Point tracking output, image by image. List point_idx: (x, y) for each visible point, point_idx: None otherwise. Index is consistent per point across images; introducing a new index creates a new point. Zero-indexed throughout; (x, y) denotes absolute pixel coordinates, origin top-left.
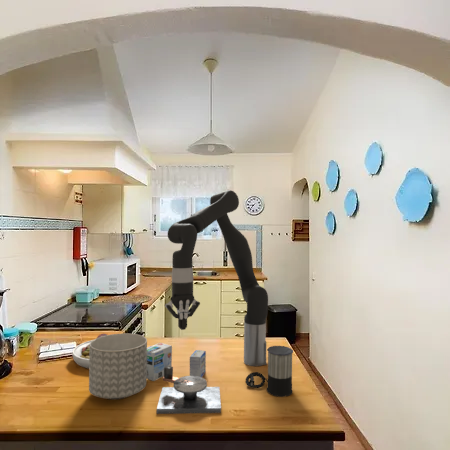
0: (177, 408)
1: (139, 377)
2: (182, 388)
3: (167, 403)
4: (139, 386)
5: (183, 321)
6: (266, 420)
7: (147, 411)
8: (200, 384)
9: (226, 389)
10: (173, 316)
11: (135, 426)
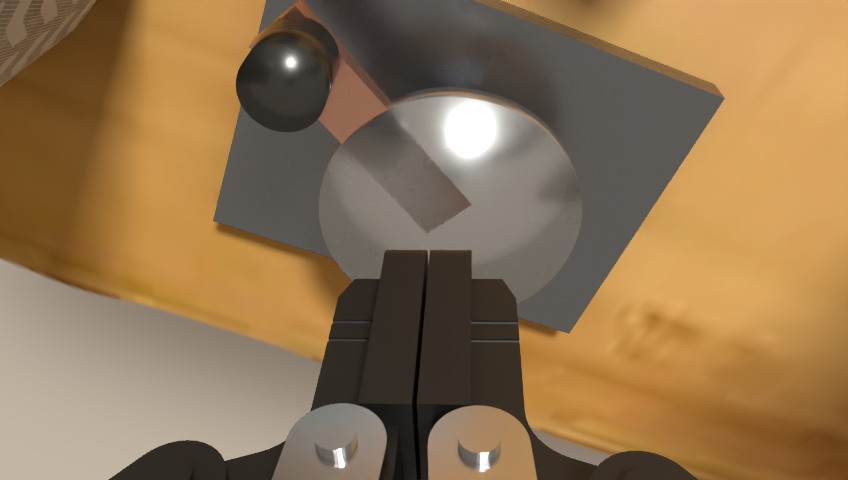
0: None
1: (18, 71)
2: (366, 276)
3: (285, 187)
4: (57, 40)
5: (419, 469)
6: (725, 428)
7: (168, 161)
8: (509, 268)
9: (780, 79)
10: (152, 470)
11: (109, 271)
